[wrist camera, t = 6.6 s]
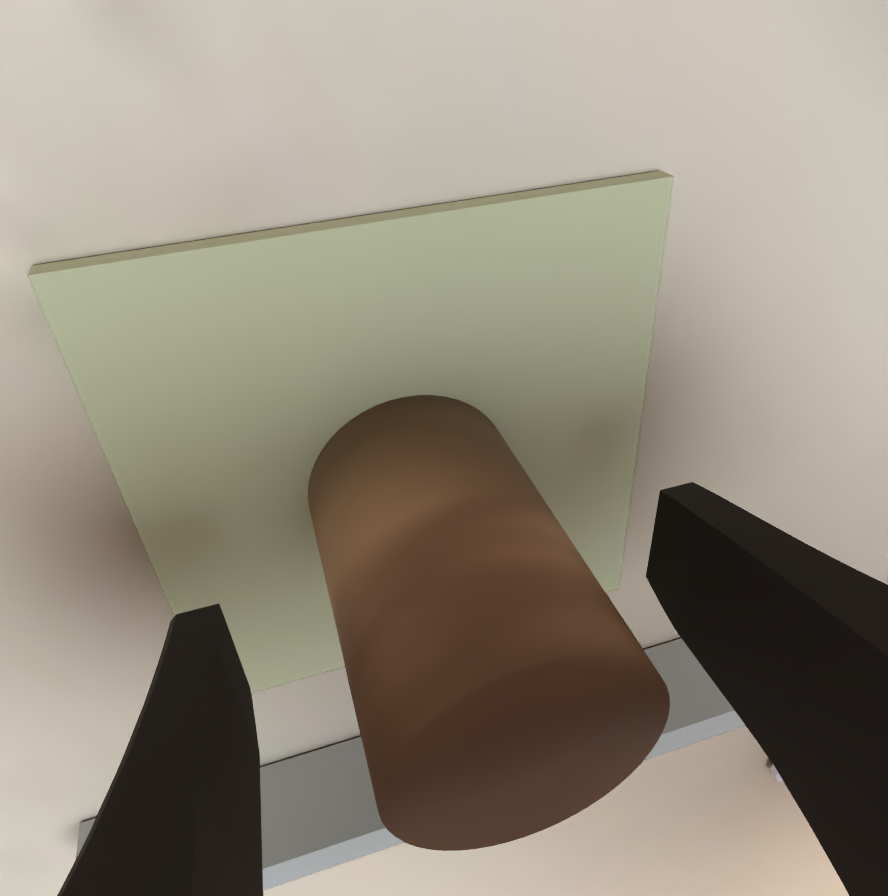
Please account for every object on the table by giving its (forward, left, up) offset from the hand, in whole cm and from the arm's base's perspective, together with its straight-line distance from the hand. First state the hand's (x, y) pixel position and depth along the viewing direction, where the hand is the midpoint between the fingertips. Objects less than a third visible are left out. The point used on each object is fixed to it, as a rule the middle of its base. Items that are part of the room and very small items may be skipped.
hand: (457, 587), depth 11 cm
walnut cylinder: (0, 0, -3) cm, 3 cm away
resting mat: (0, 0, -3) cm, 3 cm away
